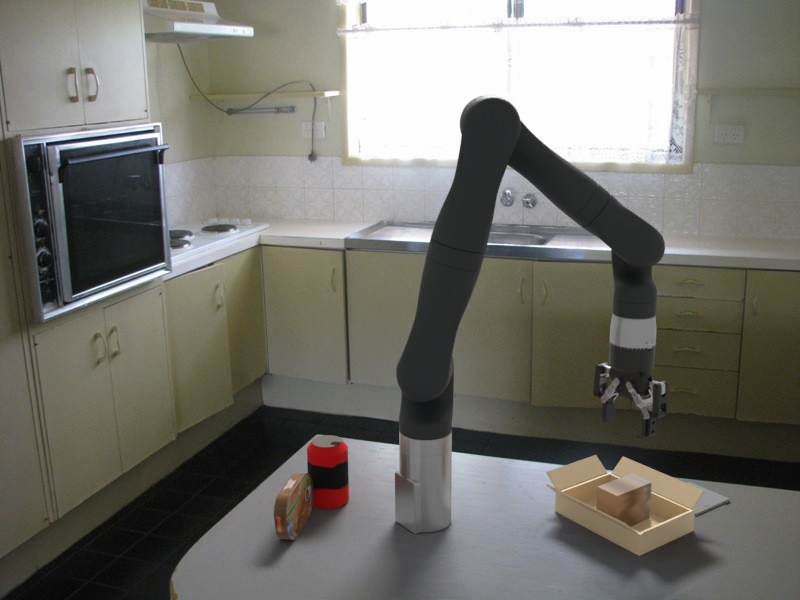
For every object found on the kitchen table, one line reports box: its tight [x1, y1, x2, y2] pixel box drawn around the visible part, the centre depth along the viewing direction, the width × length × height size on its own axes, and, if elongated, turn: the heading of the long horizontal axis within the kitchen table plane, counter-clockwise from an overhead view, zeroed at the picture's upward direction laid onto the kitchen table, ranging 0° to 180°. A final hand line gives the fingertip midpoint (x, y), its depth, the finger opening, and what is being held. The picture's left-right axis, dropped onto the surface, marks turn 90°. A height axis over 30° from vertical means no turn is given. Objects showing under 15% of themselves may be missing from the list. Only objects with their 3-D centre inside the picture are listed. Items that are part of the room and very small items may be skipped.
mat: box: [686, 481, 731, 517], centre depth 162 cm, size 10×9×1 cm
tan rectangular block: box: [596, 474, 652, 527], centre depth 153 cm, size 9×4×7 cm, turn 125°
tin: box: [273, 472, 314, 541], centre depth 153 cm, size 15×3×8 cm, turn 169°
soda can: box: [306, 434, 350, 510], centre depth 162 cm, size 8×8×12 cm
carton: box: [545, 454, 709, 557], centre depth 153 cm, size 20×26×7 cm
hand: (627, 430), depth 150 cm, fingers open, 8 cm apart
